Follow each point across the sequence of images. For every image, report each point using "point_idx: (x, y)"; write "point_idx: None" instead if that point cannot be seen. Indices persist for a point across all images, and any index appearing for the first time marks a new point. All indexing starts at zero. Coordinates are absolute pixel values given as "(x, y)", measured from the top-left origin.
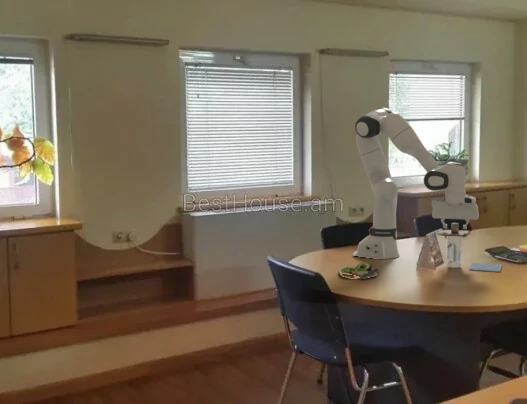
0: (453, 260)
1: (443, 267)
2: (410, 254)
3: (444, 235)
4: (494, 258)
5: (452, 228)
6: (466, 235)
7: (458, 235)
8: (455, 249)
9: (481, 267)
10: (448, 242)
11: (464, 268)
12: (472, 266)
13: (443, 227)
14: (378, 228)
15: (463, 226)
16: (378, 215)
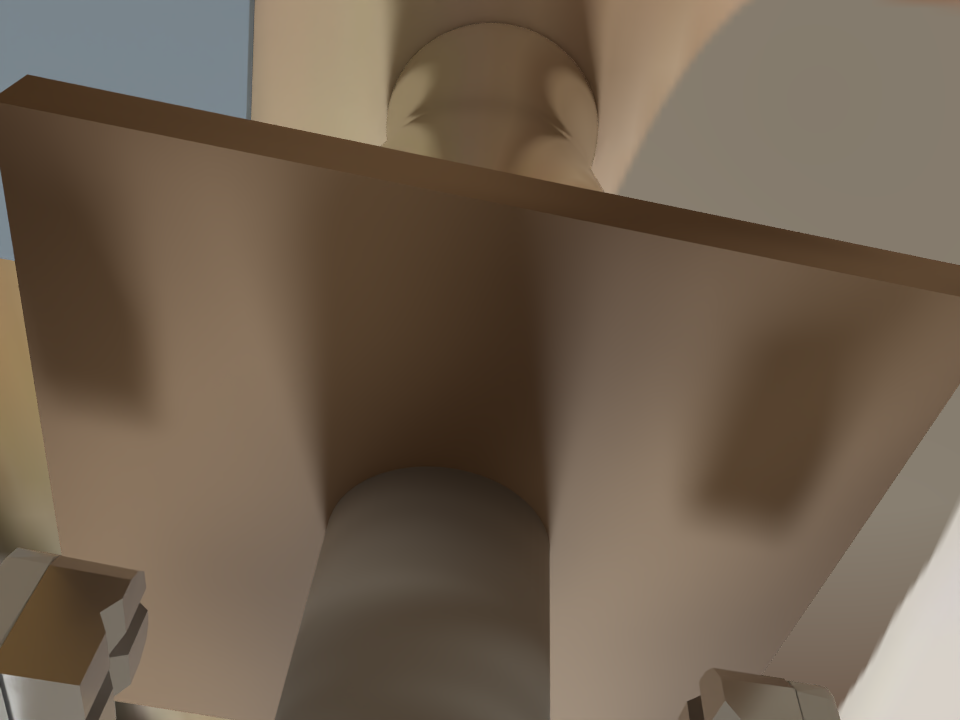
0: (511, 80)
1: (672, 54)
2: (917, 664)
3: (845, 246)
4: (39, 545)
5: (514, 612)
6: (27, 200)
7: (316, 149)
8: (463, 130)
9: (72, 27)
10: None
11: (340, 11)
12: (216, 87)
13: (829, 706)
14: None
15: (72, 647)
16: None
